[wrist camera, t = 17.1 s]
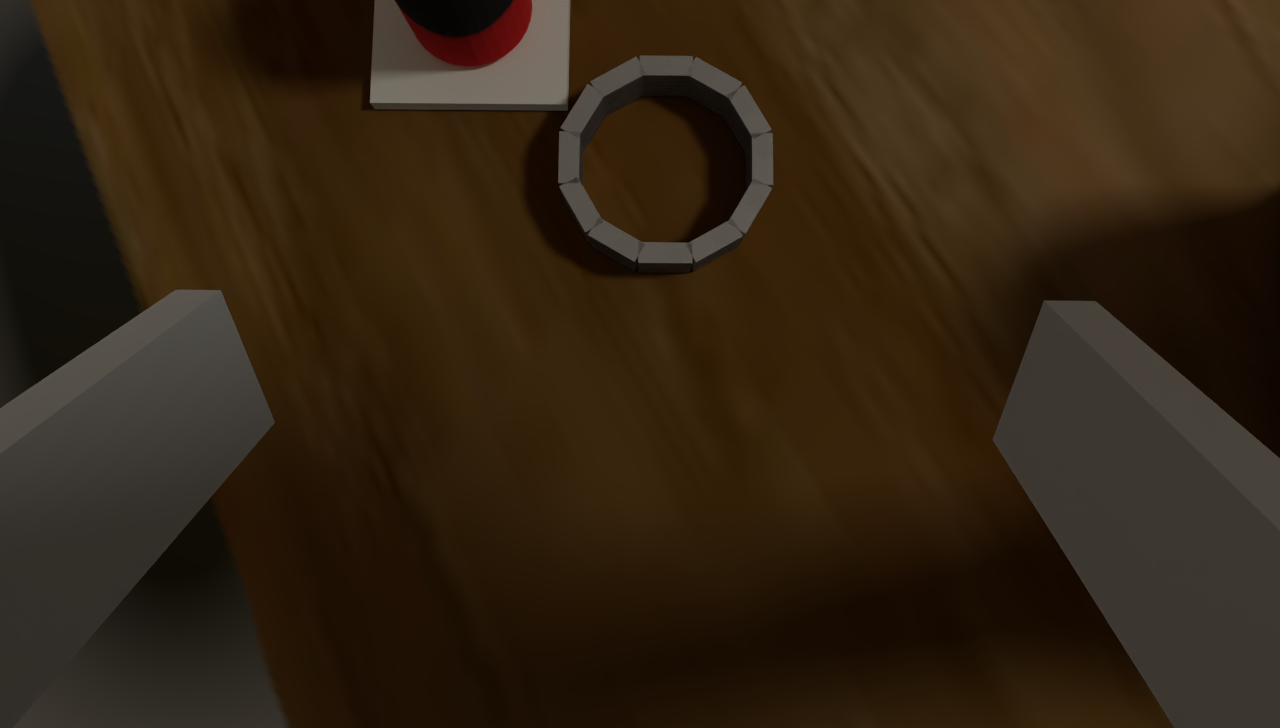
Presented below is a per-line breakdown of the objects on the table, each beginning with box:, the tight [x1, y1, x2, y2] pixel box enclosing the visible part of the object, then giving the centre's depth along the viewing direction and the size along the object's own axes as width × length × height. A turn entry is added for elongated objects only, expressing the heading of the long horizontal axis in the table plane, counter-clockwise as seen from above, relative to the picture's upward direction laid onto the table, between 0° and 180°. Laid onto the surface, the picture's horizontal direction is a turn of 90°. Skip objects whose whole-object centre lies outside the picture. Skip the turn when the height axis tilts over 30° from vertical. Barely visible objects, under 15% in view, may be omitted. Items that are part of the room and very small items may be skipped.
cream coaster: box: [370, 0, 570, 111], centre depth 40 cm, size 12×12×1 cm
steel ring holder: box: [558, 56, 773, 273], centre depth 38 cm, size 12×12×2 cm
